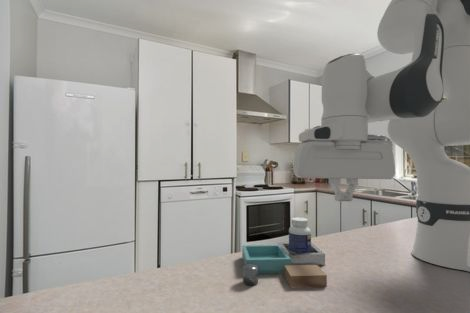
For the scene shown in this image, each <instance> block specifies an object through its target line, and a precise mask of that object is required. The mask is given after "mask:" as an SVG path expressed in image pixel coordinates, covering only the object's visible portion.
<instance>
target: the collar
mask: <svg viewBox="0 0 470 313" xmlns="http://www.w3.org/2000/svg"><path fill="white" fill-rule="evenodd" d="M277 245H281V247H282V248H283V249H284V251H285V252H286V253H287V254H288V256H289V257H290V258H291V265H318V266H326V254H325V253H324V252H323V250H321V249H320V248H318V247H317V246H316V245H315V244H313V242H311V253H289V242H277Z"/></svg>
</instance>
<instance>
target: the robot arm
mask: <svg viewBox="0 0 470 313" xmlns="http://www.w3.org/2000/svg"><path fill="white" fill-rule="evenodd" d="M376 33H377V36H376V37H377V39H378V42H379V44H380V45H381V47H382V48H384V49H385V50H386V51H388V52H390V53H394V54H397V55H407V54H411V53H412V58H411V61H410V62H409V63H408V64H406V65H405V66H402V67H400V68H399V69H396V70H393V71H389V72H386V73H384V74H380V75H378V76H374V75H373V74H371V73H370V72H369V71H368V70H367V65H366V60H365V56H364V55H363V54H360V53H348V54H345V55H344V54H343V55H341V56H338V57H336V58H334V59H332V60H330V61H329V62H328V63H327V64H325V67H324V70H323V72H322V73H323V74H322V81H321V103H322V110H323V112H322V116H321V118H320V119H321V120H320V121H321V125H318V126H315V127H313V128H309V129H306V130H304V131H302V132H300V133H299V135H298V141H299V142H300V143H299V144H298V145H297V147H296V148H295V152H294V158H293V174H294V175H295V177H297V178H300V179H329V180H328V181H329V182H328V183H329V185H330V187H331V188H332V191H333V192H334V201H336V202H353V197H354V196H353V194H354V192H355V190H356V189H357V187H358V185H359V180H393V178H394V177H395V175H396V167H395V156H394V153H393V143H394V145H396V146H398V147H399V148H401V149H402V151H404V152H405V153H406V154H407V155H408V157H409V158H410V160H411V162H412V163H413V166H414V169H415V173H416V183H417V199H416V200H415V204H416V205H415V212H416V217H417V224H416V230H415V231H416V232H415V238H414V242H413V247H412V249H411V251H410V253H411V255H412V256H414V257H416V258H417V259H419V260H421V261H424V262H427V263H430V264H433V265H435V266H441V267H444V268H449V269H454V270H459V271H460V270H461V271H466V272H469V273H470V166H468V165H467V164H465V163H463V162H461V161H457V160H455V159H452V158H451V157H449V155H447V153H446V150H445V147H448V146H451V147H452V146H453V147H454V146H470V0H391V1H390V2H389V3H388V6H387V8H386V9H385V11H384V13H383V16H382V17H381V19H380V22H379V24H378V28H377V32H376ZM443 99H445V100H444V101H443ZM385 121H388V123H387V135H388V137H387V135H384V134H379V135H377V134H376V135H375V134H369V131H368V130H369V129H368V128H369V127H368V126H369V123H377V122H385ZM341 179H343V180H345V179H346V183H345V184H347V187H346V190H345V191H342V190H341V188H340V186H339V185H341V182H342V181H341Z"/></svg>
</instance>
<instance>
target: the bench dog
mask: <svg viewBox="0 0 470 313" xmlns="http://www.w3.org/2000/svg"><path fill="white" fill-rule="evenodd" d="M242 284H243V285H245V286H247V287H254V286H257V285H258V284H259V274H258V266H257V265H254V264H246V265H244V264H243V266H242Z"/></svg>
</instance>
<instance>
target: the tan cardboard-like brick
mask: <svg viewBox="0 0 470 313" xmlns="http://www.w3.org/2000/svg"><path fill="white" fill-rule="evenodd" d="M283 274H284V277H285V280H286V282H287V283H288V284H289V287H290V288H318V287H319V288H321V287H324V288H326V287H328V284H327V283H328V282H327V281H328V280H327V279H328V278H327V276H328V275H327V274H326V273H325V272H324V271H323V269H322V268H321V267H320V265H284V273H283Z"/></svg>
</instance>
